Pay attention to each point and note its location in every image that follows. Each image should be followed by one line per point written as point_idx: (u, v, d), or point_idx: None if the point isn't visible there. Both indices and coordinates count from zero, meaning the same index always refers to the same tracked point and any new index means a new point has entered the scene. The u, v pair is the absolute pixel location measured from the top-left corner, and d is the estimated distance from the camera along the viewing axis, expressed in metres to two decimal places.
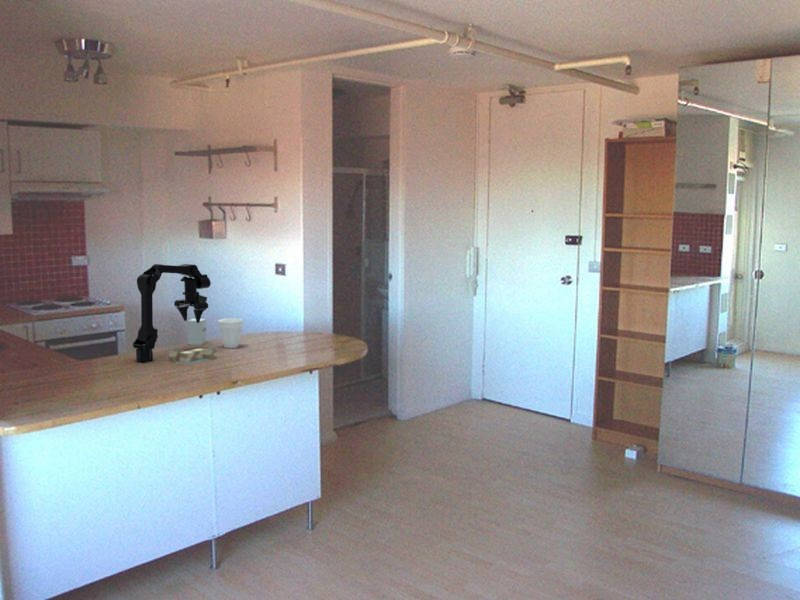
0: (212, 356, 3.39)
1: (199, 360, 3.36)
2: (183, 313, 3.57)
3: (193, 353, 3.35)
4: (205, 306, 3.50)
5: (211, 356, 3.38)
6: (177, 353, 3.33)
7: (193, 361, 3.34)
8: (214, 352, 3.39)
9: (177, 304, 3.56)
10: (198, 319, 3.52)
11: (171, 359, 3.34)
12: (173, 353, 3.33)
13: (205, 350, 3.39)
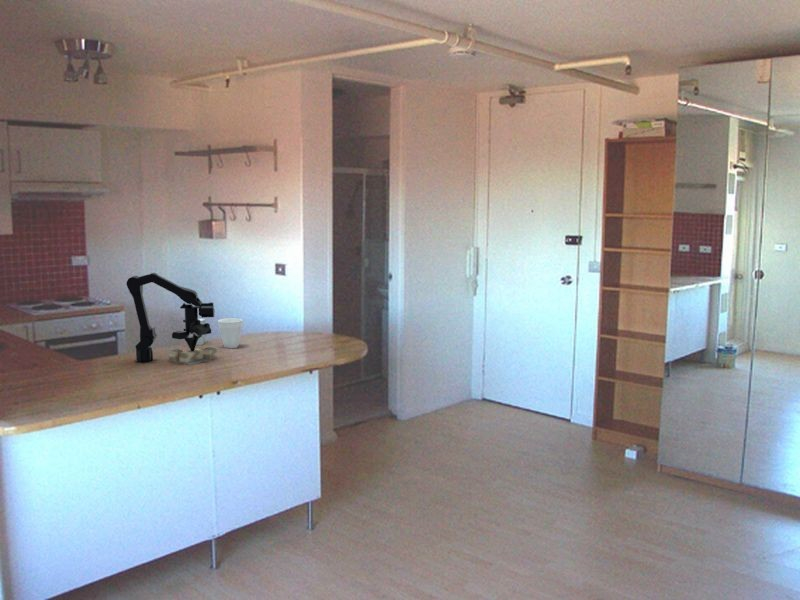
0: (212, 356, 3.39)
1: (199, 360, 3.36)
2: None
3: (193, 353, 3.35)
4: (177, 336, 3.28)
5: (211, 356, 3.38)
6: (177, 353, 3.33)
7: (193, 361, 3.34)
8: (214, 352, 3.39)
9: None
10: (190, 347, 3.36)
11: (171, 359, 3.34)
12: (173, 353, 3.33)
13: (205, 350, 3.39)
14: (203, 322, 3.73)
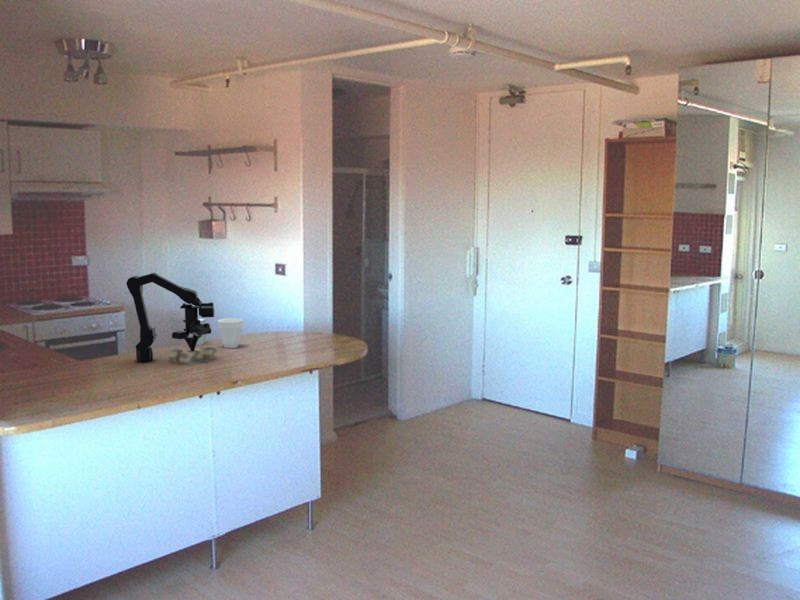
0: (212, 356, 3.39)
1: (199, 360, 3.36)
2: None
3: (193, 353, 3.35)
4: (177, 336, 3.28)
5: (211, 356, 3.38)
6: (177, 353, 3.33)
7: (193, 361, 3.34)
8: (214, 352, 3.39)
9: None
10: (190, 347, 3.36)
11: (171, 359, 3.34)
12: (173, 353, 3.33)
13: (205, 350, 3.39)
14: (203, 322, 3.73)
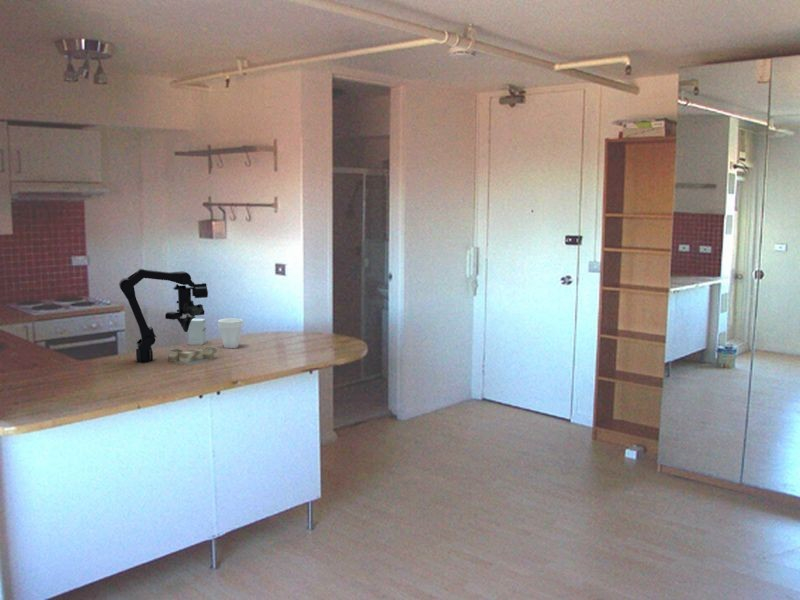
0: (212, 356, 3.39)
1: (199, 360, 3.36)
2: None
3: (193, 353, 3.35)
4: (170, 317, 3.31)
5: (211, 356, 3.38)
6: (177, 353, 3.33)
7: (193, 361, 3.34)
8: (214, 352, 3.39)
9: None
10: (183, 328, 3.40)
11: (171, 359, 3.34)
12: (173, 353, 3.33)
13: (205, 350, 3.39)
14: (203, 322, 3.73)
